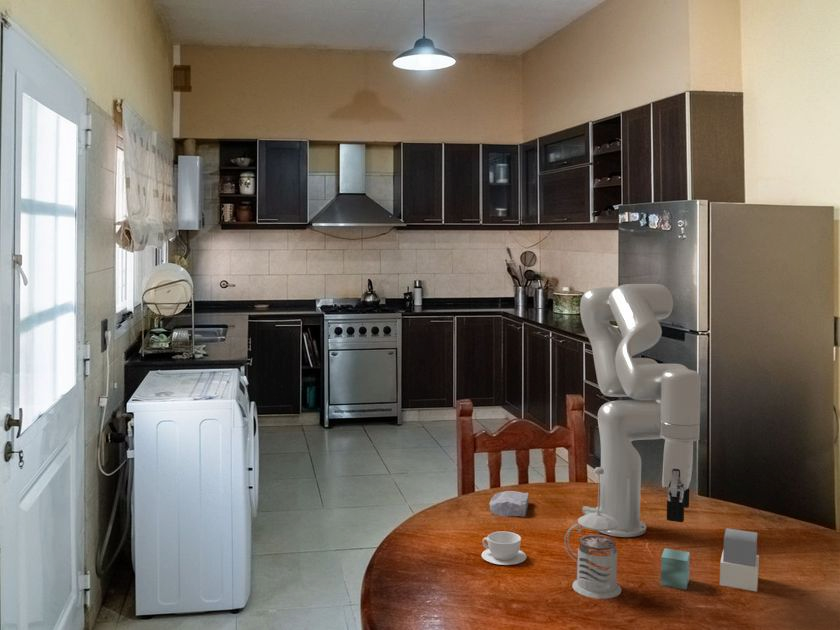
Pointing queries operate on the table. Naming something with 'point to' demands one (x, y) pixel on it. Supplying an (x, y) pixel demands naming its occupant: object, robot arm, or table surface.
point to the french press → (596, 578)
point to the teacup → (503, 548)
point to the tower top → (740, 547)
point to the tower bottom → (739, 575)
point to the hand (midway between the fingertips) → (678, 513)
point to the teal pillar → (675, 568)
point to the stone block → (509, 503)
